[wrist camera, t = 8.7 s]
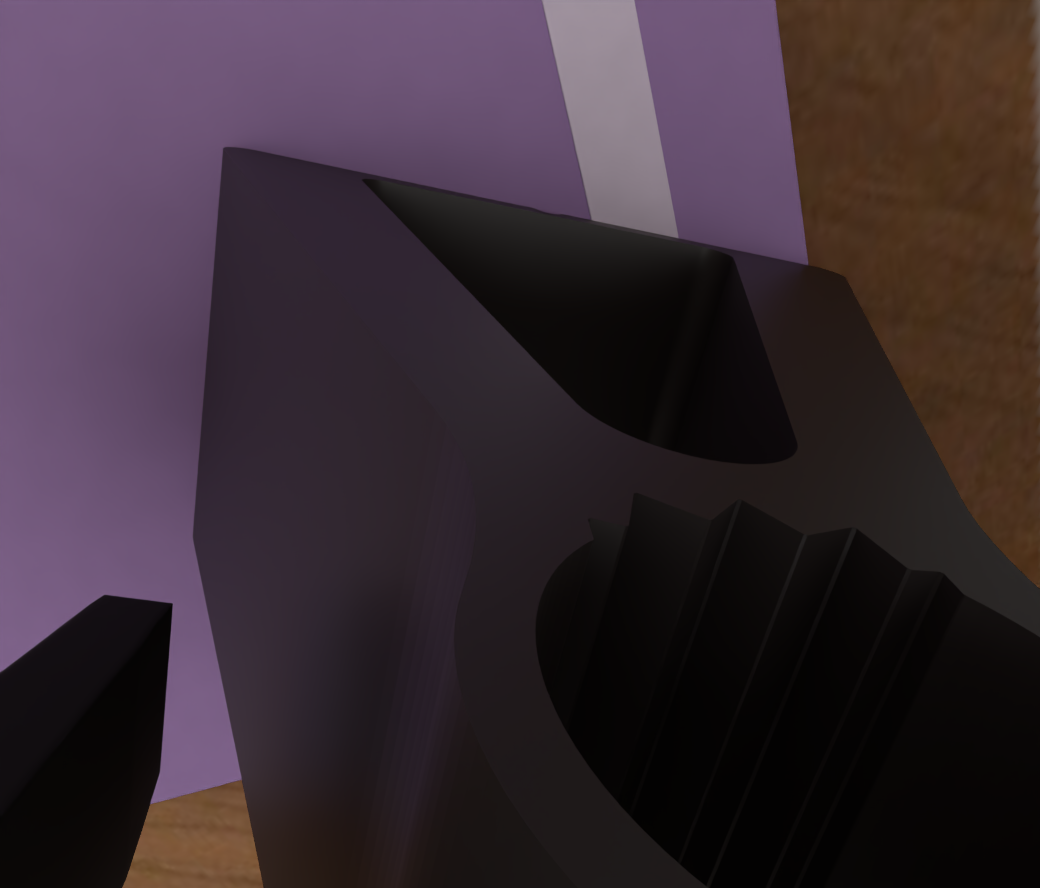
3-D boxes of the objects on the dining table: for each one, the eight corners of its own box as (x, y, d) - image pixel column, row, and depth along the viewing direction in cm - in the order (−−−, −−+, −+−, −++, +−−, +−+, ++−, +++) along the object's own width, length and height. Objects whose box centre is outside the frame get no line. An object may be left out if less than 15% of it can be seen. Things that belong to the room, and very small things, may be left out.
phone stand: (835, 270, 13) (2557, 1225, 2) (717, 598, 16) (1345, 1847, 5) (230, 140, 12) (-1950, 1020, 1) (196, 521, 14) (-615, 2052, 3)
